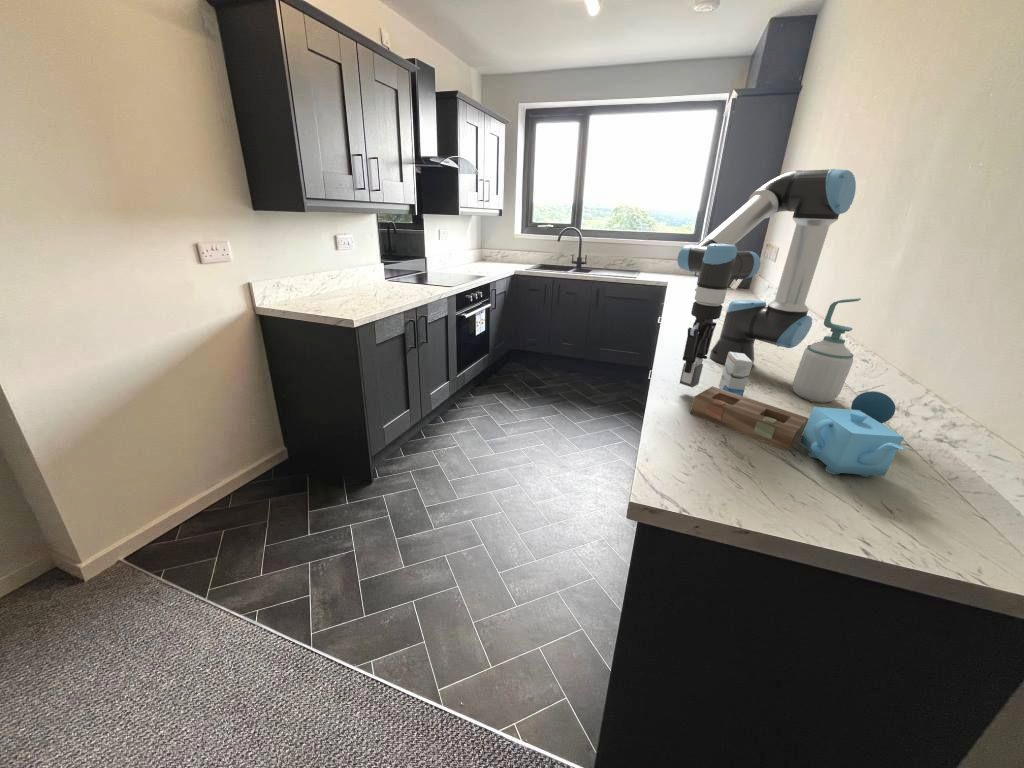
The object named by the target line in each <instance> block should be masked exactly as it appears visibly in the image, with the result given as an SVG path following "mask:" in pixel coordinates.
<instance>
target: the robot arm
mask: <svg viewBox="0 0 1024 768" xmlns="http://www.w3.org/2000/svg"><path fill="white" fill-rule="evenodd" d="M856 187H857V182H856V178H855V175H854V174H853V172H852V171H851V170H849V169H839V168H838V169H837V168H832V169H829V168H828V169H813V170H812V169H811V170H810V169H808V170H807V169H806V170H801V169H800V170H793V171H788V172H786V173H783V174H781V175H778V176H776V177H774V178H772V179H770V180H769V181H767V182H766V183H765V184H763V185H761V186H760V187H758V188H757V189H756V190H755V191H754V192H752V193H751V194H750V195H749V198H748V200H747V202H745V203H744V204H743V205H742V206H741V207H740V208H738V209H737V210H736V211H734V212H733V213H732V214H731V215H730V216H729V217H728V218H727V219H725V220H724V221H723V222H722V223H721V224H719V225H718V226H717V227H716V228H714V229H713V231H711V232H710V233H709V234H707V236H705V237H704V238H703V239H702V240H701V241H700V242H698V243H697V244H686V245H684V246H683V247H682V248H680V251H679V252H678V255H677V258H676V259H677V265H678V267H679V268H680V269H681V270H684V271H687V272H690V273H699V277H698V282H697V286H696V288H695V289H694V291H695V295H694V302H692V308H691V312H690V314H691V316H693V317H694V318H695V320H694V322H693V324H692V327H690V326H689V327H688V328H687V337H686V341H685V346H684V350H683V355H682V356H683V357H682V361H685V362H684V363H685V367H684V371H683V376H682V380H681V381H683V382H686V383H689V384H691V382H692V378H693V373H694V369H695V365H696V362H695V360H696V358H700V359H702V362H701V364H703V362H704V360H707V359H708V356H707V355H708V354H709V351H710V354H709V358H710V359H711V360H712V361H714V362H717V363H719V364H722V365H725V363H726V359H727V356H728V353H729V352H736V353H743V354H745V355H746V356H747V357H748V358H749V359H750V360H751V361H752V362H753V364H752V366H753V365H754V363H755V347H754V344H755V341H756V340H757V341H760V342H763V343H768V344H771V345H774V346H776V347H780V348H785V349H793V348H795V347H797V346H798V345H800V344H801V343H802V341H804V339H805V338H806V337H807V336H808V334H809V332H810V330H811V328H812V324H813V318H812V317H811V316H810V315H808V314H809V313H808V312H809V308H808V306H807V304H806V300H807V298H808V295H809V291H810V288H811V286H812V282H813V279H814V276H815V273H816V270H817V266H818V263H819V260H820V256H821V254H822V251H823V248H824V245H825V241H826V237H827V235H828V232H829V228H830V226H831V225H832V224H834V223H835V222H837V221H838V219H839V217H840V215H842V214H845V213H847V212H848V210H850V208H851V206H852V204H853V202H854V199H855V196H856V190H857V189H856ZM780 212H781V213H782V212H791V213H792V212H793V215H792V220H793V221H794V222H795V227H794V232H793V236H792V239H791V241H790V245H789V250H788V252H787V256H786V259H785V263H784V267H783V270H782V273H781V277H780V281H779V284H778V287H777V291H776V294H775V297H774V300H773V301H770V302H769V303H768V304H767V302H766V301H763V300H754V299H753V300H752V299H751V300H750V299H737V300H736V299H735V300H732V301H730V303H728V304H729V305H728V307H727V310H726V312H725V316H724V321H723V325H722V329H721V332H720V335H719V339H717V341H716V342H715V344H714V346H713V347H712V348H711V350H710V346H711V342H712V338H713V336H714V332H715V329H716V326H717V322H714V320H718V319H720V318H721V314H722V311H723V305H722V304H724V303H725V300H726V299H725V298H726V295H727V292H728V286H729V282H730V281H731V280H742V281H743V280H745V279H748V278H752V277H754V276H755V275H757V273H759V270H760V268H761V263H762V262H761V258H760V256H759V255H758V254H757V253H756V252H754V251H750V250H738V247H737V246H736V244H737V243H738V242H740V240H741V239H743V238H744V237H745V236H746V235H747V234H749V233H750V232H751V231H752V230H753V229H754V228H756V227H757V226H758V225H759V224H760V223H761V222H762V221H764V220H765V219H768V218H771V217H773V216H774V215H775V214H777V213H780Z"/></svg>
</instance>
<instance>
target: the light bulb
mask: <svg viewBox="0 0 1024 768" xmlns="http://www.w3.org/2000/svg"><path fill="white" fill-rule="evenodd" d="M850 410H860V411H861V412H863V413H865V414H866V415H868V416H870V417H871V418H873V419H875V420H876V421H878V422H880V423H881V424H885V423H887V422H888V421H890V420H891V419H892V418H893V417H894V415H895V412H896V405H895V402H894V400H893V399H892V398H891V397H890V396H889V395H888V394H885V393H883V392H880V391H873V390H871V391H865V392H862V393H860V394H858V395H857V396H855V398H854V399H853V400H852V403H851V407H850Z"/></svg>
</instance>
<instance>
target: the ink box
mask: <svg viewBox="0 0 1024 768" xmlns="http://www.w3.org/2000/svg"><path fill="white" fill-rule="evenodd" d="M752 364H753V365H754V363H753V362H752V361H751V360H750V359H749V358H748V357H747V356H746V355H745V354H743V353H736V352H729V353H728V356H727V359H726V363H725V364H724V367H723V371H722V374H721V378H720V381H719V384H718V388H719V389H722V390H725V391H728V392H731V393H734V394H737V395H741V396H744V392H745V390H746V386H747V383H748V379H749V376H750V373H751V370H752V367H753V365H752Z"/></svg>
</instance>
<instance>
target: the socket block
mask: <svg viewBox="0 0 1024 768" xmlns="http://www.w3.org/2000/svg"><path fill="white" fill-rule="evenodd" d="M689 414H692V415H694V416H697V417H699V418H701V419H704V420H706V421H710V422H712V423H715V424H717V425H720V426H721V427H725V428H728V429H730V430H733V431H736V432H737V431H738V433H741V434H743V435H745V436H748V437H750V436H751V438H753V439H756V440H759V441H761V442H764V443H767V444H769V445H771V444H772V446H774V447H776V446H777V448H779V449H781V448H782V450H785V451H788V452H789V451H790V450H791V449H792V448H793V446H794V445H795V444H797V442H798V441H800V439H801V437H802V435H803V432H804V430H805V427H806V424H807V422H808V419H809V417H806V416H804V415H801V414H798V413H796V412H795V413H794V412H791V411H788V410H786V409H783V408H779V407H776V406H773V405H771V404H767V403H765V402H762V401H758V400H755V399H752V398H749V397H746V396H744V395H743V396H741V395H737V394H734V393H731V392H728V391H725V390H722V389H721V388H720V387H717V386H710V387H708V388H707V389H705V390H703V391H702V392H700V393H698V394H696V395H694V396H693V400H692V404H691V408H690V412H689ZM791 447H792V448H791Z"/></svg>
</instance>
